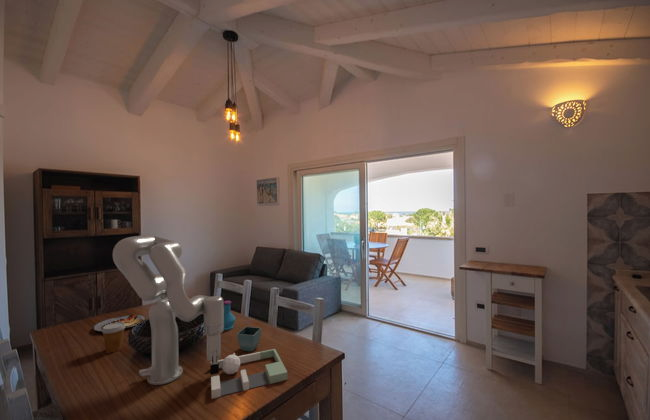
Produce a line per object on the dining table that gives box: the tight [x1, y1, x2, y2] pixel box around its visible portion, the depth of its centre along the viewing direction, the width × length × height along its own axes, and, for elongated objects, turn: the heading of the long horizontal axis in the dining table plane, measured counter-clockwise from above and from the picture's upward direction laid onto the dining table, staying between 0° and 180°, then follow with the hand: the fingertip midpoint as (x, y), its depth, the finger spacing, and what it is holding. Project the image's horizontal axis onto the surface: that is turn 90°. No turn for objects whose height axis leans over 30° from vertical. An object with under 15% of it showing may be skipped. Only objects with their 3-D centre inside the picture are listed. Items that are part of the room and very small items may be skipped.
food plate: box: [93, 314, 146, 332], centre depth 168 cm, size 25×23×4 cm
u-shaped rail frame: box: [209, 348, 288, 400], centre depth 116 cm, size 28×21×3 cm
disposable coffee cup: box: [101, 322, 126, 354], centre depth 138 cm, size 10×10×12 cm
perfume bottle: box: [223, 300, 237, 331], centre depth 164 cm, size 9×9×15 cm
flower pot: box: [237, 326, 262, 352], centre depth 137 cm, size 9×9×9 cm
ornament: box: [221, 352, 241, 375], centre depth 118 cm, size 7×7×8 cm
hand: (214, 372), depth 115 cm, fingers closed
